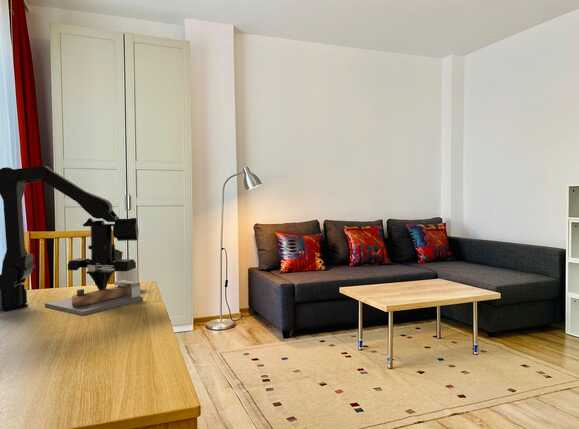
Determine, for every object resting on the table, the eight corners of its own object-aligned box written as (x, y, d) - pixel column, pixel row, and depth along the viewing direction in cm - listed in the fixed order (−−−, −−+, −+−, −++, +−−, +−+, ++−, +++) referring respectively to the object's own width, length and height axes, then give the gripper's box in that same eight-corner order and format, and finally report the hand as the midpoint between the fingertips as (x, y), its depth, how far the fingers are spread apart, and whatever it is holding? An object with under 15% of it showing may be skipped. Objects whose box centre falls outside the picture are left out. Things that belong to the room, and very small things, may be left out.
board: (82, 315, 116) (82, 311, 116) (44, 306, 126) (44, 303, 126) (142, 300, 132) (142, 296, 132) (104, 293, 142) (104, 290, 142)
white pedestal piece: (115, 288, 149) (115, 268, 149) (137, 286, 152) (136, 266, 152) (117, 292, 143) (116, 271, 143) (139, 290, 146) (138, 269, 146)
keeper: (132, 298, 130) (131, 284, 130) (114, 295, 134) (113, 281, 134) (140, 296, 132) (139, 282, 132) (122, 293, 137) (122, 280, 137)
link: (78, 307, 119) (77, 292, 119) (68, 305, 122) (68, 290, 121) (132, 294, 134) (131, 280, 134) (122, 292, 137) (122, 279, 137)
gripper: (143, 239, 137) (144, 288, 138) (88, 238, 140) (89, 287, 140) (126, 242, 126) (127, 296, 127) (65, 242, 129) (67, 295, 129)
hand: (102, 293), depth 131 cm, fingers closed
